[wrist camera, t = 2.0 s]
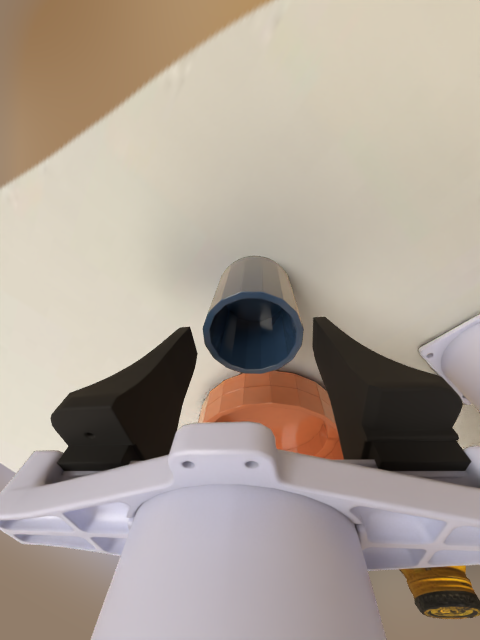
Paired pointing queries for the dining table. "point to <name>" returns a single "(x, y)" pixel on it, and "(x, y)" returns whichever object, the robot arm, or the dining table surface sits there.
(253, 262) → the cup
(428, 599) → the condiment
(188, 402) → the dining table surface
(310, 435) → the clay bowl
